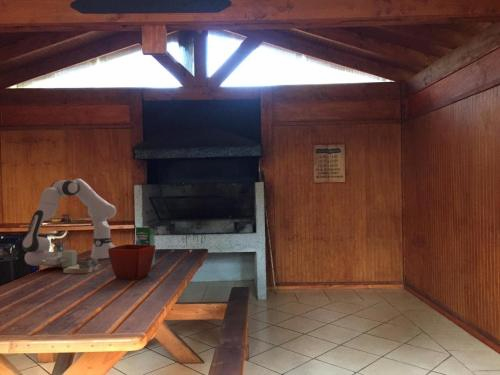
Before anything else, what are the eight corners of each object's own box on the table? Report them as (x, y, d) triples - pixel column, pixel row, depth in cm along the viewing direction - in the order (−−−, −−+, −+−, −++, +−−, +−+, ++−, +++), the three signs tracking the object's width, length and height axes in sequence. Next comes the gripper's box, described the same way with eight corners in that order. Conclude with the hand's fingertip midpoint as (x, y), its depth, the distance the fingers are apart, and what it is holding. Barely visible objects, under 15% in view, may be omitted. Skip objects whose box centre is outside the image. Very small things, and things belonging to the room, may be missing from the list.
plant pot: (156, 274, 236) (156, 244, 236) (138, 281, 217) (138, 249, 217) (127, 273, 241) (126, 244, 241) (107, 280, 223) (106, 248, 223)
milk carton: (154, 264, 268) (154, 225, 268) (150, 266, 259) (149, 227, 259) (141, 264, 269) (140, 225, 269) (136, 266, 260) (135, 227, 260)
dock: (78, 267, 259) (78, 257, 259) (101, 268, 257) (101, 257, 257) (63, 273, 243) (63, 262, 243) (87, 273, 241) (86, 262, 241)
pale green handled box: (66, 267, 260) (66, 243, 260) (77, 268, 259) (76, 243, 259) (61, 269, 255) (61, 244, 255) (72, 269, 254) (72, 244, 254)
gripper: (39, 256, 249) (60, 256, 247) (60, 251, 269) (79, 251, 267) (39, 266, 249) (60, 267, 247) (60, 261, 269) (79, 261, 267)
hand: (70, 259), depth 257 cm, fingers closed on pale green handled box, 5 cm apart
